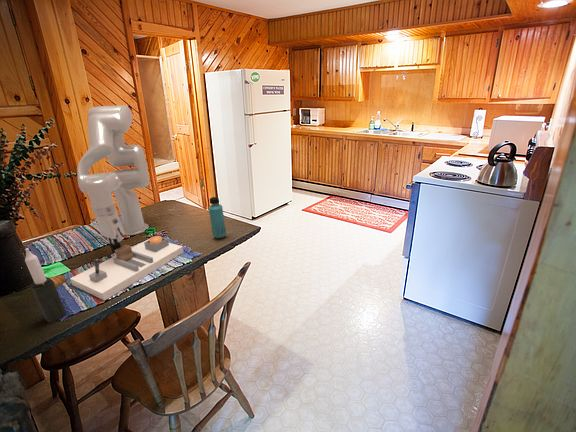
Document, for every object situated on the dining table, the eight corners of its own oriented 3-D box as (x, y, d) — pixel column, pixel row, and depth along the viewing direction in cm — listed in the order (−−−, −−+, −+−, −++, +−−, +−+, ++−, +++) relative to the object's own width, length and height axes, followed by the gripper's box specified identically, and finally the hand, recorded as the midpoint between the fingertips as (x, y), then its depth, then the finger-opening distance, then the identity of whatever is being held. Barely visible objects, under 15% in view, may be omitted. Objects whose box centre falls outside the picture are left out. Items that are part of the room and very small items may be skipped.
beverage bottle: (223, 241, 142) (218, 200, 135) (210, 240, 144) (204, 200, 136) (229, 234, 148) (223, 195, 140) (216, 234, 150) (210, 195, 142)
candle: (61, 308, 102) (33, 242, 93) (67, 314, 100) (40, 246, 90) (43, 317, 99) (12, 249, 89) (49, 323, 96) (18, 254, 86)
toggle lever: (92, 272, 111) (92, 259, 107) (98, 270, 113) (97, 256, 109) (96, 276, 111) (96, 262, 107) (101, 273, 113) (101, 259, 109)
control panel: (72, 285, 115) (67, 271, 112) (153, 243, 143) (150, 231, 141) (104, 300, 105) (99, 286, 103) (183, 252, 134) (181, 240, 132)
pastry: (60, 277, 120) (57, 269, 119) (70, 282, 117) (66, 273, 116) (33, 291, 113) (29, 282, 111) (42, 296, 110) (38, 287, 108)
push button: (148, 247, 133) (146, 239, 131) (158, 242, 137) (156, 234, 135) (156, 250, 130) (154, 242, 129) (165, 245, 134) (164, 237, 133)
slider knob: (117, 261, 123) (114, 250, 121) (129, 255, 127) (125, 244, 125) (122, 262, 122) (119, 251, 120) (133, 256, 126) (130, 246, 124)
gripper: (125, 209, 118) (136, 251, 125) (102, 204, 125) (114, 243, 132) (106, 216, 112) (119, 260, 119) (84, 210, 119) (97, 251, 126)
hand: (117, 251), depth 126 cm, fingers closed
